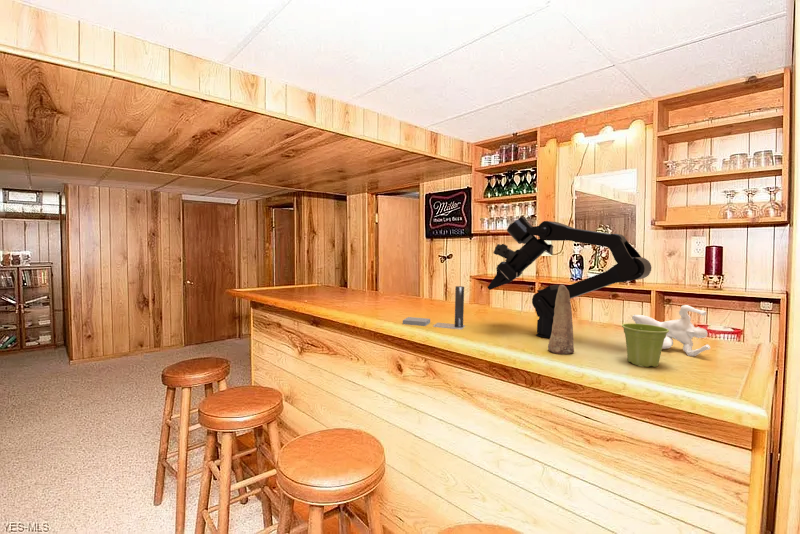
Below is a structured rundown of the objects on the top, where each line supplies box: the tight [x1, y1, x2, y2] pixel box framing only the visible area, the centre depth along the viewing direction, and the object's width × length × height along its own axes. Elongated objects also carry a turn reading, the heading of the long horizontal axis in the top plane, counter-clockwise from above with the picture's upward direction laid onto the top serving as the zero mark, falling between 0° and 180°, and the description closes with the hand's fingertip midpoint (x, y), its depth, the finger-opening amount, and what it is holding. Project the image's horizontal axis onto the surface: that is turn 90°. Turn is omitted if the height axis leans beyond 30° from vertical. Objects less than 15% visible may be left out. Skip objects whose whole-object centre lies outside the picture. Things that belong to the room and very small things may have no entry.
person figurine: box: [631, 304, 711, 357], centre depth 107 cm, size 13×13×18 cm
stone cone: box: [547, 284, 575, 355], centre depth 101 cm, size 6×18×6 cm
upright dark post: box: [432, 285, 466, 331], centre depth 131 cm, size 10×5×14 cm, turn 67°
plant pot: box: [621, 323, 669, 368], centre depth 93 cm, size 9×9×9 cm
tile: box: [402, 316, 431, 327], centre depth 135 cm, size 2×6×8 cm
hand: (491, 287), depth 128 cm, fingers open, 9 cm apart
